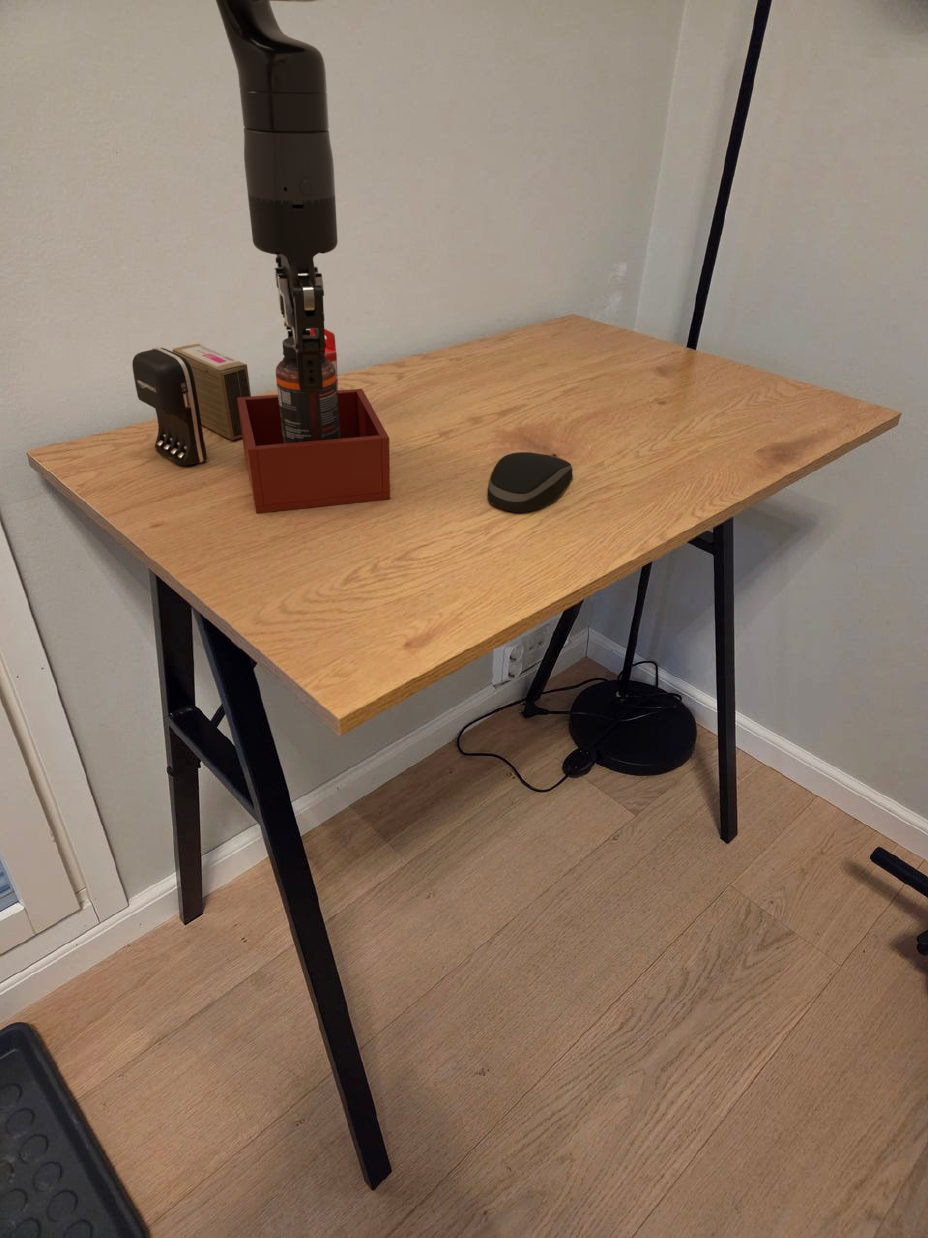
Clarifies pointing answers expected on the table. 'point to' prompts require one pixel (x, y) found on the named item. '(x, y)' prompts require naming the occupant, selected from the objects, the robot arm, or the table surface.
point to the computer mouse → (528, 481)
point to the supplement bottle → (306, 401)
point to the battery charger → (171, 404)
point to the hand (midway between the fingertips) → (306, 378)
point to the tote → (315, 457)
